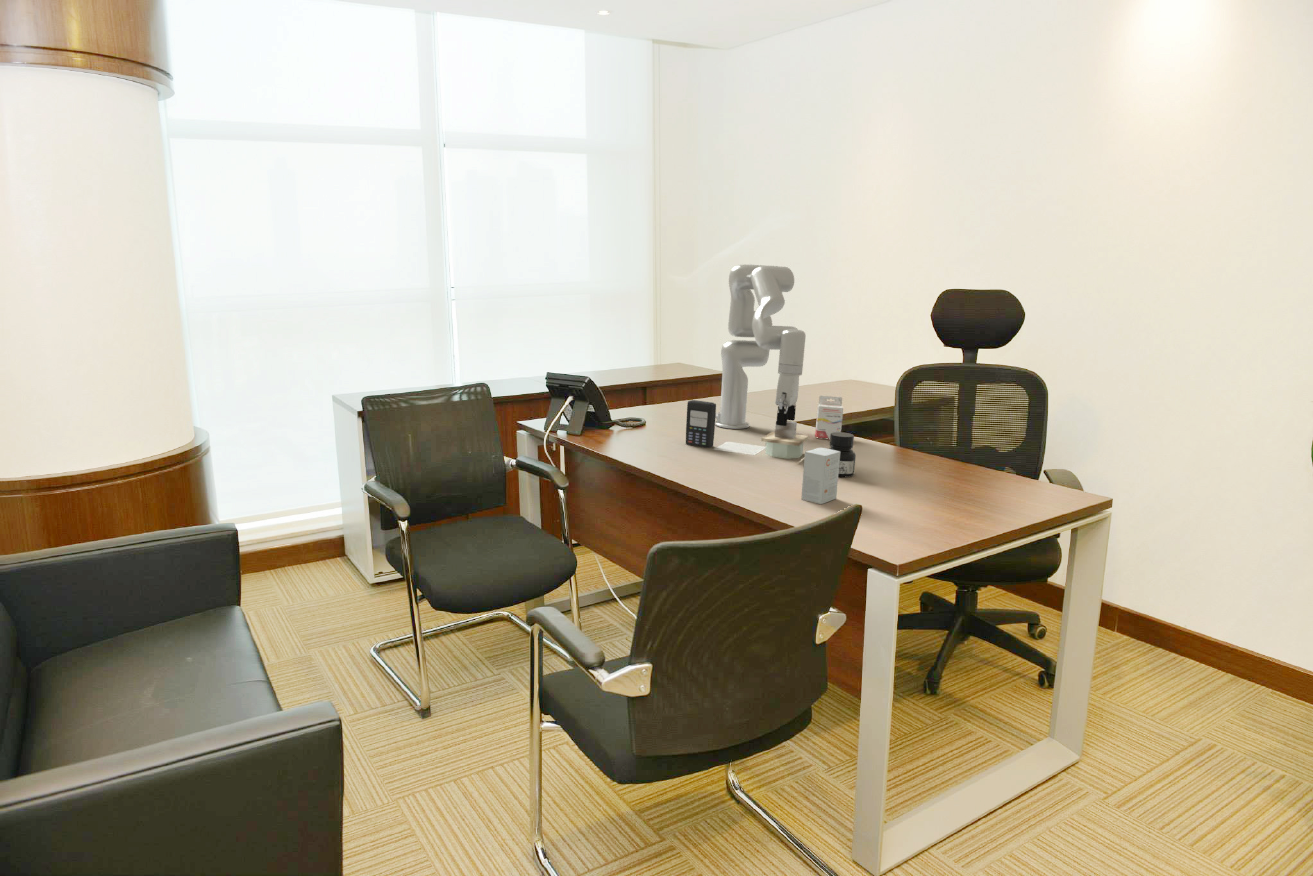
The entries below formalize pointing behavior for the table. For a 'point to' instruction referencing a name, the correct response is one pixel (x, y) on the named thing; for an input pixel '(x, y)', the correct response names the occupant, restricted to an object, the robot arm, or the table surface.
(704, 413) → the card reader
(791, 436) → the lid
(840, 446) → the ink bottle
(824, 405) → the ink cartridge box
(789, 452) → the bowl
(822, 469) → the small box
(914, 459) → the table surface
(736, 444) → the mat
